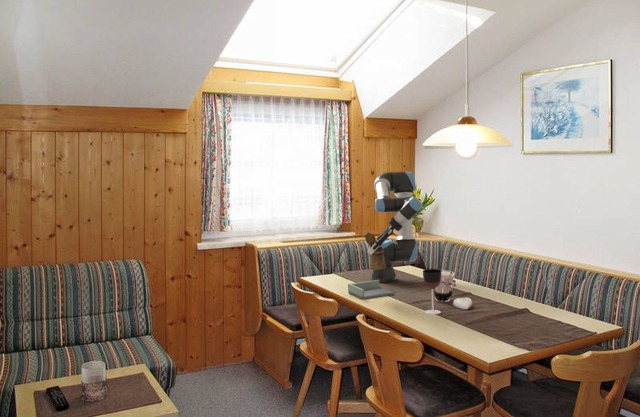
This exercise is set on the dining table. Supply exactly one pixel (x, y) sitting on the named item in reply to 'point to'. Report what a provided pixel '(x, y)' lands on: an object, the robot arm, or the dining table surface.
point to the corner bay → (367, 290)
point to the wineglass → (432, 284)
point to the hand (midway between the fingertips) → (369, 251)
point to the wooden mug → (375, 254)
